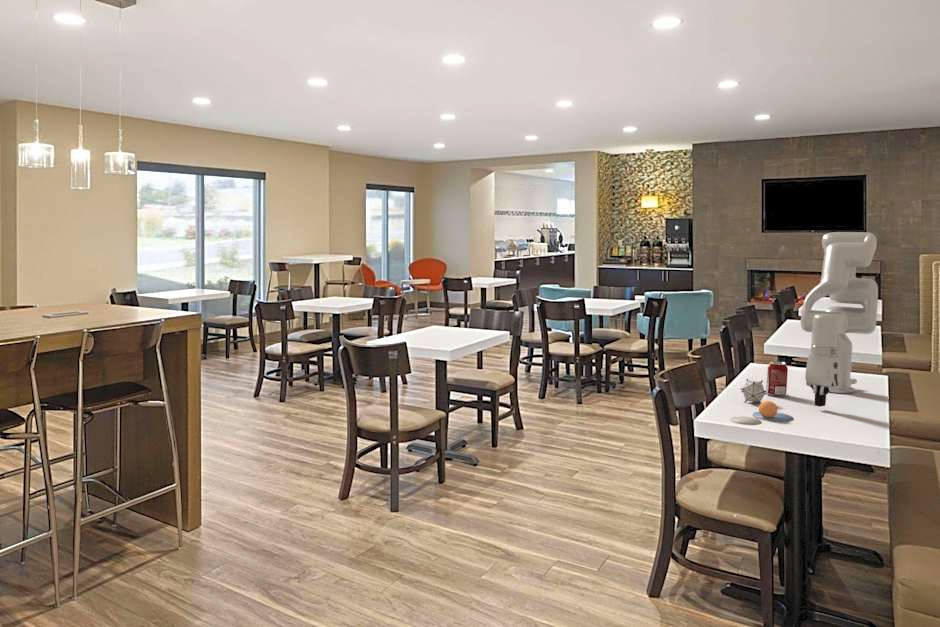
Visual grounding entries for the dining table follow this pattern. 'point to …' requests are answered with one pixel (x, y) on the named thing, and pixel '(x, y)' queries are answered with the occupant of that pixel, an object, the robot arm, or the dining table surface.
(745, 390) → the game die
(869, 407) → the dining table surface
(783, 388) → the soda can
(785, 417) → the disc
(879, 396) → the dining table surface
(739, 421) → the far disc
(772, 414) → the ball
